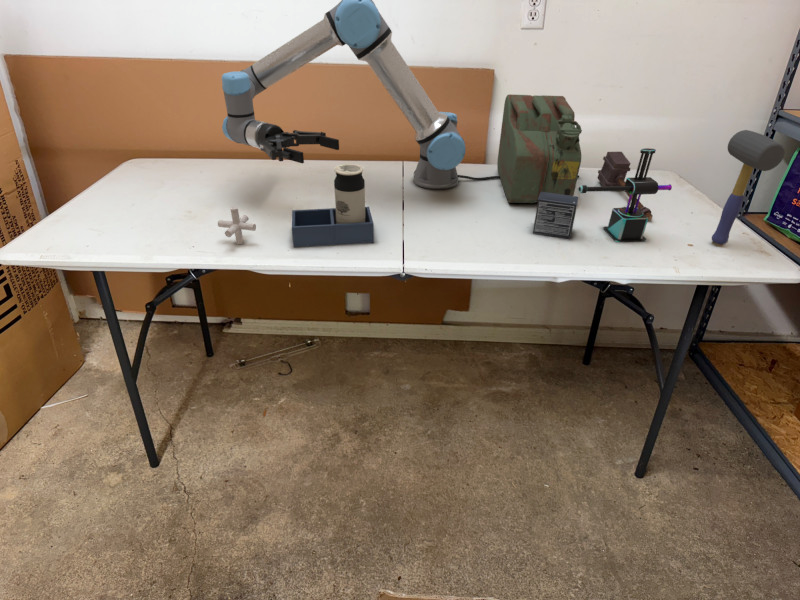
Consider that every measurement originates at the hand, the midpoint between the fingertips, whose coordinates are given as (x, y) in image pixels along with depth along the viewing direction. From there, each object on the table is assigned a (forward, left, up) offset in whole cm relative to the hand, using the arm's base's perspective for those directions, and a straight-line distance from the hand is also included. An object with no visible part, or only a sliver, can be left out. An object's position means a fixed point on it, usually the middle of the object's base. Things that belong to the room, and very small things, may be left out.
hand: (321, 151), depth 138 cm
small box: (-64, +12, -22) cm, 68 cm away
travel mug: (-7, +7, -21) cm, 23 cm away
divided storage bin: (-2, +7, -22) cm, 23 cm away
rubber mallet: (-107, +25, -22) cm, 112 cm away
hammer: (-97, -7, -22) cm, 99 cm away
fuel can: (-70, -21, -22) cm, 76 cm away
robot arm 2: (-79, +16, -22) cm, 83 cm away
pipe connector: (+23, +8, -22) cm, 33 cm away
